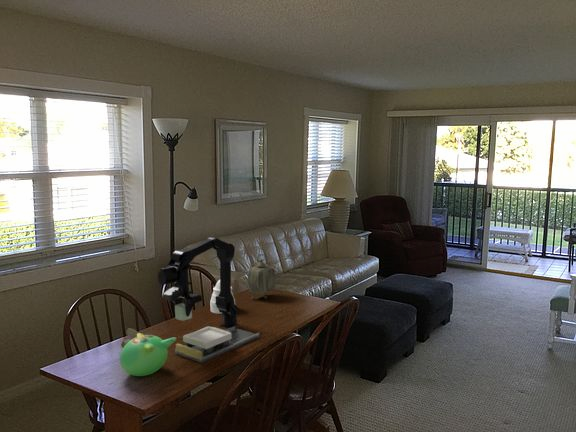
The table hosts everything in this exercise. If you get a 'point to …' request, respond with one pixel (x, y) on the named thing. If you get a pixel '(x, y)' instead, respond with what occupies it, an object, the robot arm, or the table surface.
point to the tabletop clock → (261, 278)
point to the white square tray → (208, 338)
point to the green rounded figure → (144, 354)
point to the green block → (181, 312)
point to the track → (216, 346)
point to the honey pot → (213, 298)
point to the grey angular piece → (131, 333)
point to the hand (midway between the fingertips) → (183, 315)
